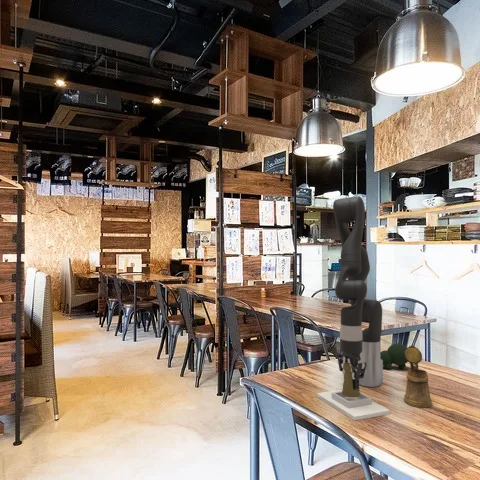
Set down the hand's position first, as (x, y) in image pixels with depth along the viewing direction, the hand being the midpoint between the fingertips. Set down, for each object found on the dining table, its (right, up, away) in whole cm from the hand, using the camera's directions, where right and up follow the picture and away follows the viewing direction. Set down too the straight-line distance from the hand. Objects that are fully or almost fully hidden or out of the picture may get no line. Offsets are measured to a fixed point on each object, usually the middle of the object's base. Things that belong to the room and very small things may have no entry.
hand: (351, 387), depth 144 cm
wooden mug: (+24, -6, +4) cm, 25 cm away
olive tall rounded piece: (0, -3, 0) cm, 3 cm away
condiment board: (0, -6, 0) cm, 6 cm away
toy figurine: (+27, -7, +43) cm, 51 cm away
